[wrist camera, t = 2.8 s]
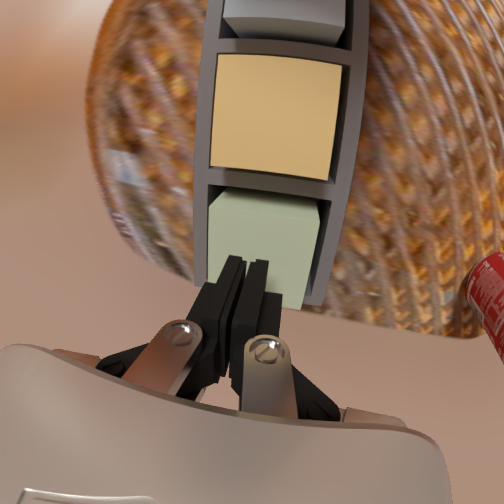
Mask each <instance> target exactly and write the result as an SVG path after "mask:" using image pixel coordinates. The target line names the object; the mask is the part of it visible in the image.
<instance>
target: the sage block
mask: <svg viewBox="0 0 504 504" xmlns="http://www.w3.org/2000/svg"><path fill="white" fill-rule="evenodd" d="M319 224H320V220H319V215H318V210H317V205H316V200H315V198H313V197H307V196H300V195H294V194H287V193H280V192H273V191H265V190H257V189H249V188H240V187H232V186H228V187H227V188H226V189H225V190H224V191H223V192H222V193H221V194H220V196H219V197H218V198H217V199H216V200H215V201H214V202H213V203H212V204H211V205H210V206H209V225H208V282H211V283H216V282H217V280H218V277H219V275H220V273H221V271H222V269H223V267H224V265H225V262H226V260H227V258H228V256H229V255H234V256H241V257H242V258H243V260H245V261H247V267H246V275H247V271H248V268H249V265H250V262H255V261H256V259H261V260H268V261H269V267H268V274H267V281H266V288H265V291H267V292H273V293H280V294H283V298H282V308H289V309H296V310H301V306H302V302H303V298H304V293H305V289H306V285H307V281H308V276H309V272H310V267H311V263H312V258H313V254H314V249H315V244H316V239H317V234H318V229H319Z"/></svg>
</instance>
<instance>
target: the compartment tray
mask: <svg viewBox="0 0 504 504" xmlns="http://www.w3.org/2000/svg"><path fill="white" fill-rule="evenodd" d="M224 6H225V0H208V6H207V12H206V19H205V27H204V35H203V43H202V52H201V62H200V72H199V84H198V96H197V111H196V128H195V149H194V183H193V250H194V284H195V286H198V287H203V285H204V283H205V282H208V225H209V206H210V205H211V204H212V203H213V202H214V201H215V200H216V199H217V198H218V197H219V196H220V194H221V193H222V192H223V191H224V190H225V189H226V188H227V187H228V186H232V187H240V188H249V189H257V190H265V191H273V192H280V193H287V194H294V195H300V196H307V197H313V198H315V200H316V205H317V210H318V215H319V220H320V224H319V229H318V234H317V239H316V244H315V249H314V254H313V258H312V263H311V267H310V272H309V276H308V281H307V285H306V289H305V293H304V298H303V302H302V304H308V305H316V306H322V302H323V299H324V295H325V292H326V288H327V285H328V281H329V278H330V274H331V270H332V266H333V262H334V259H335V255H336V251H337V247H338V242H339V238H340V234H341V230H342V225H343V221H344V216H345V212H346V207H347V202H348V197H349V192H350V187H351V182H352V177H353V171H354V166H355V160H356V154H357V147H358V141H359V134H360V127H361V120H362V112H363V104H364V94H365V85H366V73H367V60H368V43H369V0H345V27H344V29H343V31H342V33H341V35H340V37H339V39H338V41H337V43H336V44H335V46H334V48H333V47H328V46H322V45H316V44H309V43H301V42H292V41H282V40H269V39H240V38H239V37H238V35H237V34H236V33H235V32H234V30H233V29H232V28H231V27H230V25H229V24H228V23H227V22H226V21H225V19H224V18H223V13H224ZM219 55H261V56H276V57H287V58H296V59H304V60H311V61H317V62H324V63H329V64H335V65H340V66H342V71H341V82H340V92H339V101H338V110H337V118H336V126H335V133H334V141H333V148H332V155H331V161H330V168H329V174H328V180H322V179H316V178H310V177H304V176H297V175H290V174H283V173H276V172H268V171H260V170H251V169H241V168H231V167H220V166H210V165H211V145H212V129H213V114H214V100H215V88H216V77H217V66H218V56H219Z"/></svg>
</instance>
